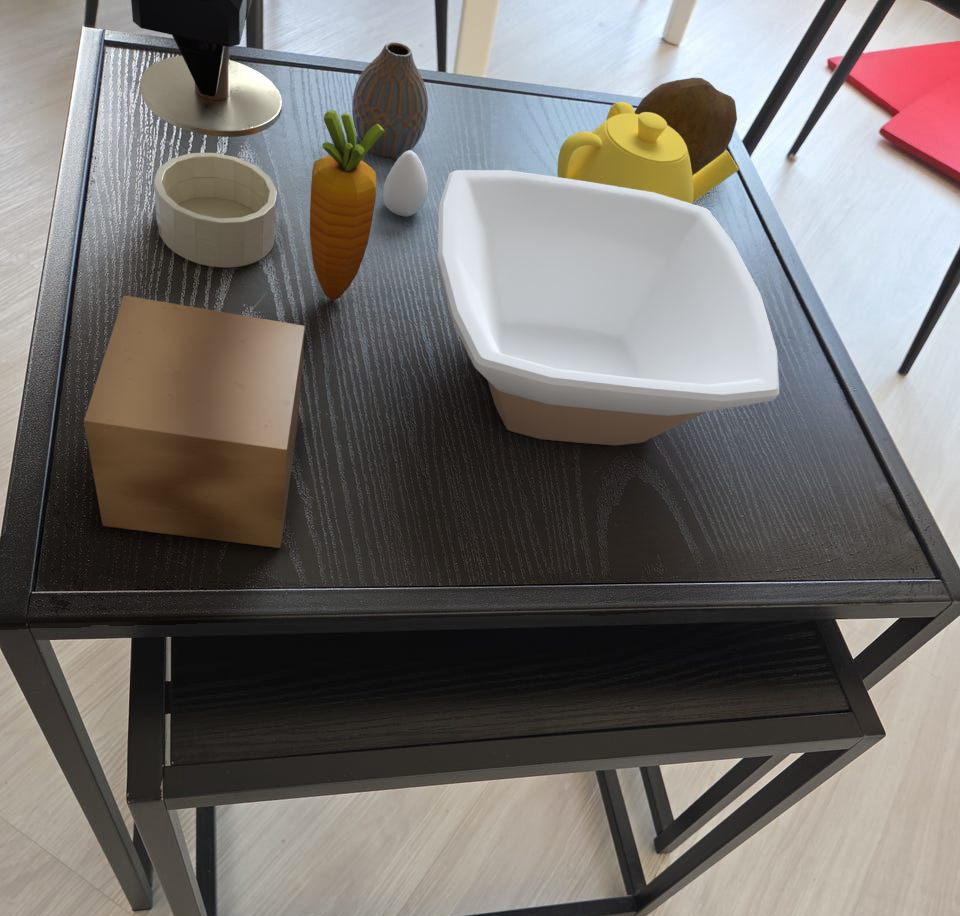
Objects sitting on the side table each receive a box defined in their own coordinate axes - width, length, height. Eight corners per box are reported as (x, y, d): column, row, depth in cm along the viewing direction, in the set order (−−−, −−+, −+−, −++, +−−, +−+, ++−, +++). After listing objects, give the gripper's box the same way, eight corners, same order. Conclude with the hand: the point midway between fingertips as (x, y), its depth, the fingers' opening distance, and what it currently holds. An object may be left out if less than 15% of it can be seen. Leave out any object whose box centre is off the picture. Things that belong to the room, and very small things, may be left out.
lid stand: (102, 526, 59) (83, 420, 51) (136, 404, 65) (123, 294, 58) (280, 548, 61) (287, 450, 53) (297, 428, 67) (304, 325, 60)
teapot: (645, 306, 84) (696, 190, 75) (519, 233, 86) (552, 111, 77) (706, 242, 92) (758, 130, 83) (589, 177, 94) (627, 61, 85)
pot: (148, 255, 74) (144, 208, 70) (168, 189, 79) (166, 142, 75) (267, 276, 75) (269, 232, 72) (280, 210, 80) (282, 165, 77)
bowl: (741, 510, 72) (809, 407, 63) (425, 487, 66) (453, 371, 58) (676, 309, 85) (725, 200, 76) (406, 276, 79) (426, 154, 71)
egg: (408, 229, 83) (418, 170, 78) (373, 209, 83) (381, 149, 79) (430, 212, 85) (441, 153, 81) (396, 193, 85) (405, 133, 81)
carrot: (372, 295, 77) (398, 111, 65) (348, 328, 74) (371, 143, 62) (316, 272, 77) (332, 84, 65) (290, 304, 74) (301, 114, 62)
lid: (128, 120, 64) (121, 54, 61) (154, 50, 70) (149, -14, 66) (273, 149, 66) (275, 86, 62) (288, 78, 71) (290, 17, 68)
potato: (735, 197, 98) (774, 113, 91) (632, 187, 95) (664, 100, 88) (709, 151, 103) (744, 67, 95) (609, 140, 99) (638, 53, 92)
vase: (435, 153, 91) (452, 57, 83) (388, 175, 87) (402, 77, 80) (381, 118, 92) (393, 21, 85) (333, 138, 88) (342, 39, 81)
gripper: (333, -92, 51) (313, 180, 63) (354, -209, 61) (334, 46, 74) (116, -146, 48) (141, 147, 61) (176, -257, 59) (187, 13, 72)
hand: (211, 84), depth 67 cm, fingers closed on lid, 2 cm apart
